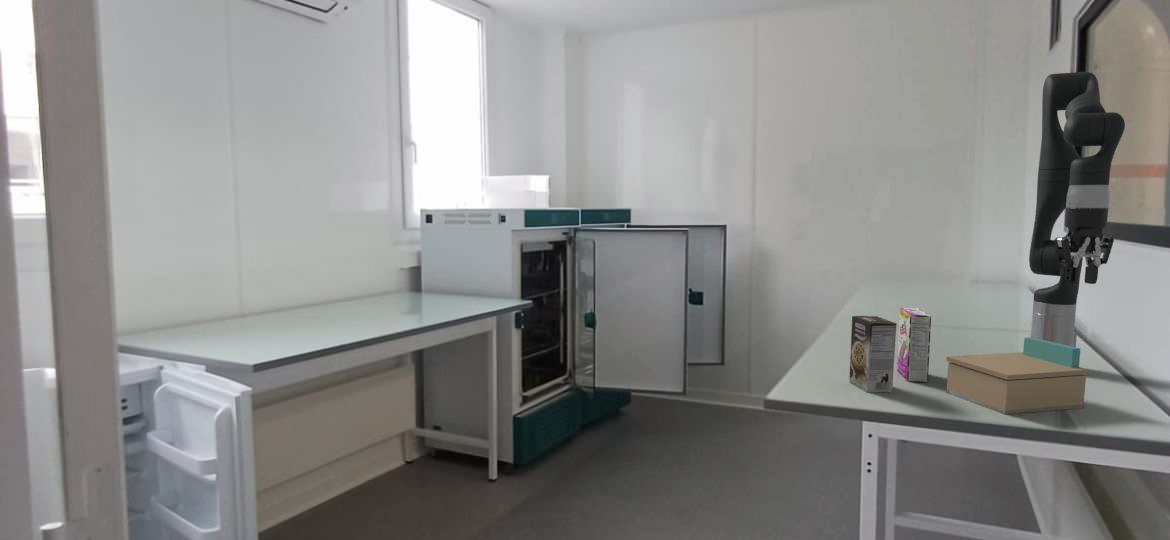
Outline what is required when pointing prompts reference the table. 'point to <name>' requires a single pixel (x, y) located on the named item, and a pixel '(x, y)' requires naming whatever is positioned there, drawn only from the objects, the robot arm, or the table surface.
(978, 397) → the mailer box
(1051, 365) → the lid
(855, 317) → the brown upright rectangular box
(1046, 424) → the table surface
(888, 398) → the table surface
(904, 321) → the candy bar box
